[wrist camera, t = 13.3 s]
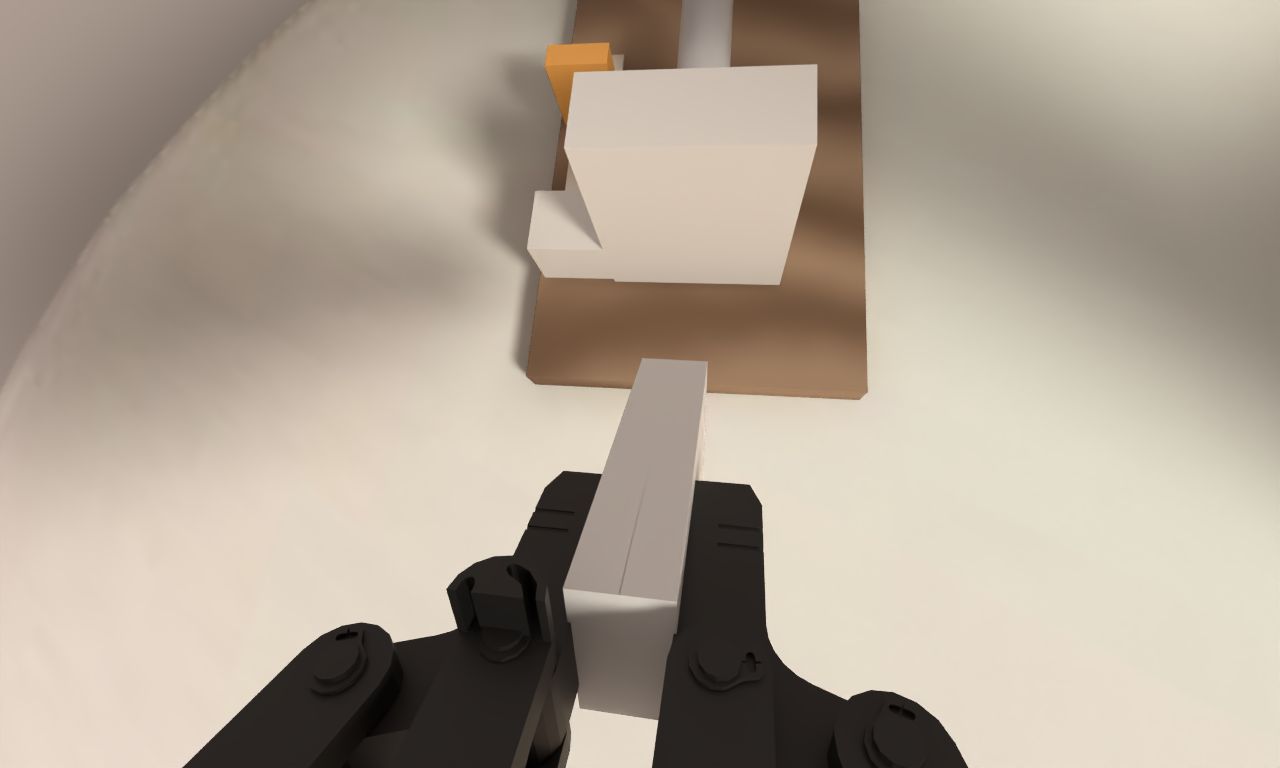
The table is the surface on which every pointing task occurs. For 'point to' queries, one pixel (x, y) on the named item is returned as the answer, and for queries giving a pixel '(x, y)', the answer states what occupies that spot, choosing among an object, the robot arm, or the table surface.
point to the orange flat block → (574, 67)
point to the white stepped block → (682, 167)
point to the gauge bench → (732, 313)
